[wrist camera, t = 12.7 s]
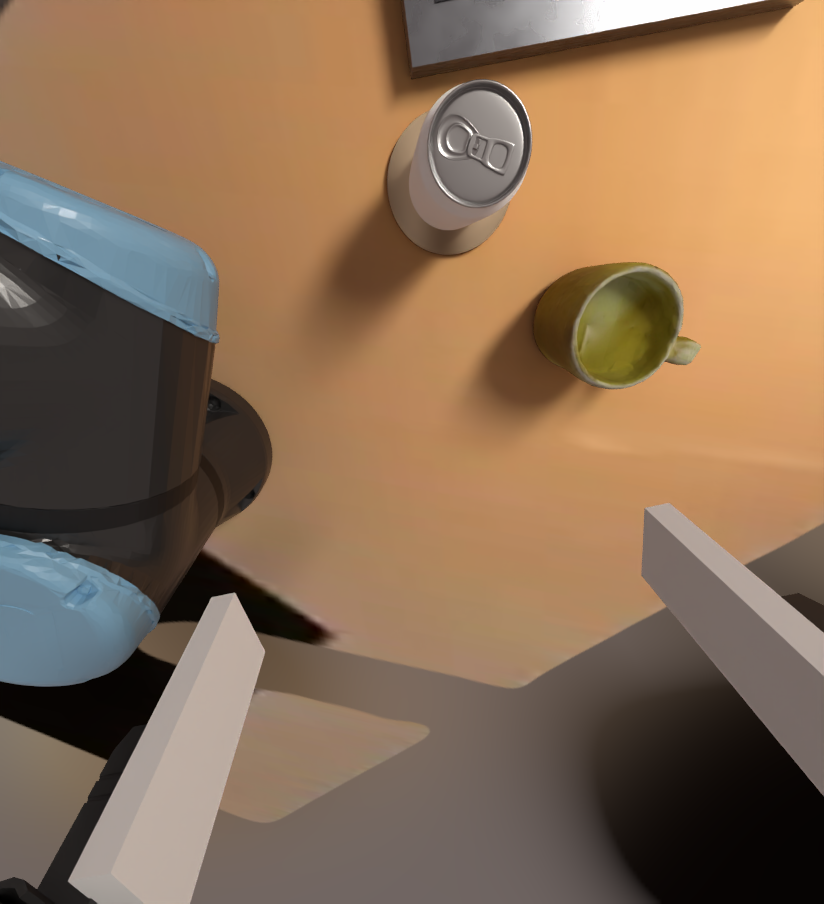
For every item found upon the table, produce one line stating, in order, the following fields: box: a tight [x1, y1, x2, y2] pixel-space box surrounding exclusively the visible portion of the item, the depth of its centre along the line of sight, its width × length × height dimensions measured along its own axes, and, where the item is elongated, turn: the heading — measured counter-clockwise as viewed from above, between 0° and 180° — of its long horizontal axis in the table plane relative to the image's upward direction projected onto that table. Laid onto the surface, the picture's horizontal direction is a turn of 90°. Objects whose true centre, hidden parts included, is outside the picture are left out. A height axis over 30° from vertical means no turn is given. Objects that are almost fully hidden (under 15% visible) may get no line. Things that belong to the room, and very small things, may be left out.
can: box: [409, 79, 532, 230], centre depth 27 cm, size 6×6×12 cm
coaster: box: [387, 110, 510, 255], centre depth 33 cm, size 10×10×1 cm
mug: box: [533, 262, 701, 389], centre depth 35 cm, size 12×10×10 cm
